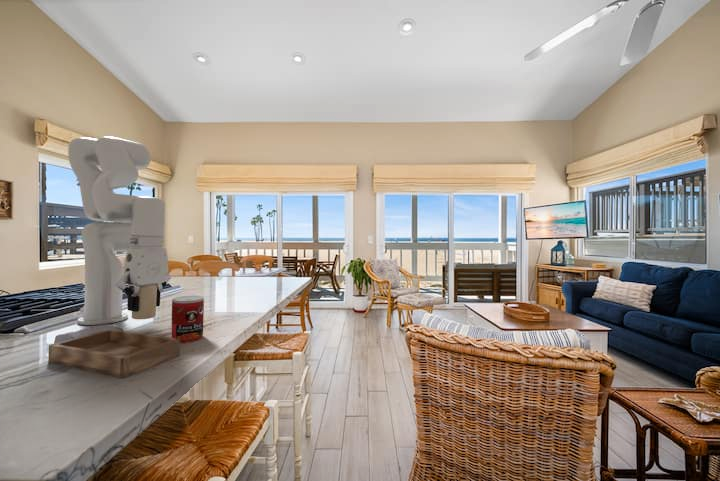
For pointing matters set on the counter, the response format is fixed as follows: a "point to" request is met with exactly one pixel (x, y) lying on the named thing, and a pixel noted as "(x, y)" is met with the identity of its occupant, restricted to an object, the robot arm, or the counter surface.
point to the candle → (146, 302)
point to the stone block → (85, 332)
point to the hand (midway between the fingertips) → (144, 307)
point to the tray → (114, 352)
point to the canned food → (187, 318)
